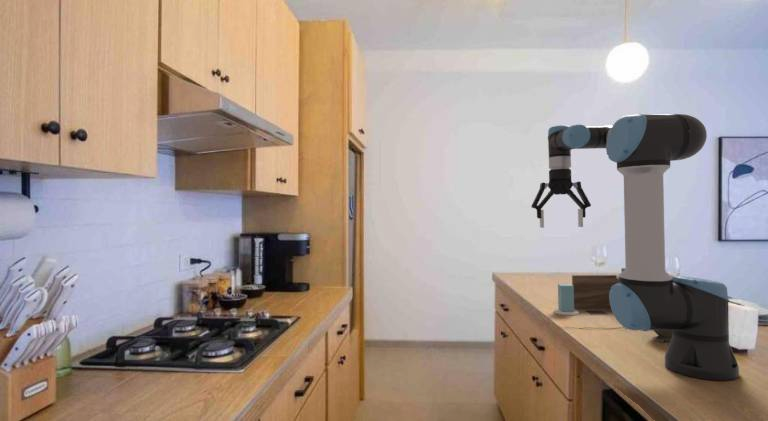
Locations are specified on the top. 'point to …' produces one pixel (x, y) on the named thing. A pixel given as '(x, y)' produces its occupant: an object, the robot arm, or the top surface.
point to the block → (566, 297)
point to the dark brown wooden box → (593, 292)
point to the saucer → (566, 312)
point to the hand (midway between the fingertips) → (561, 227)
